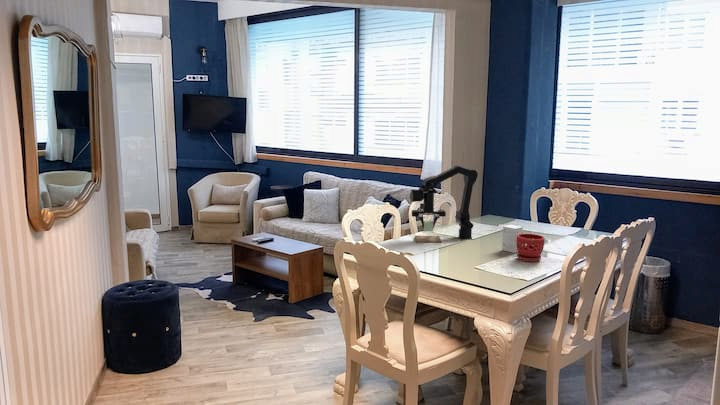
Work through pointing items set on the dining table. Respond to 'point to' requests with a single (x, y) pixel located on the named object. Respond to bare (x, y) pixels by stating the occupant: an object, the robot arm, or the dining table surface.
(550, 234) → the dining table surface
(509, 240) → the small box
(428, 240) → the walnut board
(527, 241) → the plant pot
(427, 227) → the green cube
